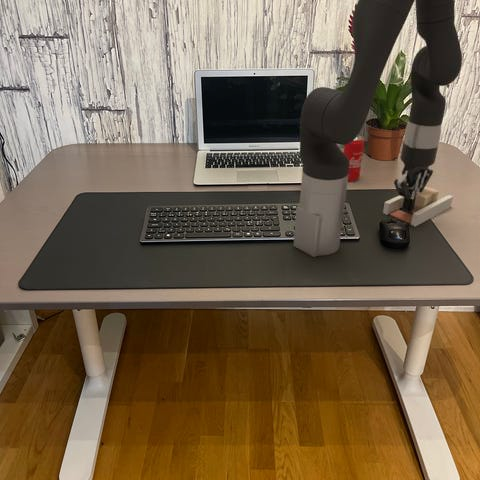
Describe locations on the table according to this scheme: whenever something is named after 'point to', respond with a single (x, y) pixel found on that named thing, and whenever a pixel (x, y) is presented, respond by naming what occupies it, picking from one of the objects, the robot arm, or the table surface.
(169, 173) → the table surface
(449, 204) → the channel
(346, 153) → the beverage can
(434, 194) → the maple block
